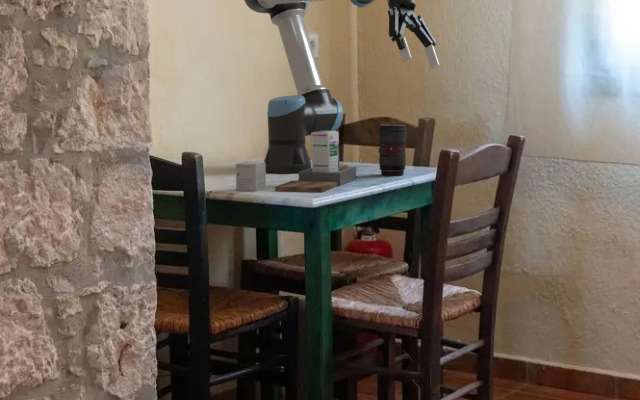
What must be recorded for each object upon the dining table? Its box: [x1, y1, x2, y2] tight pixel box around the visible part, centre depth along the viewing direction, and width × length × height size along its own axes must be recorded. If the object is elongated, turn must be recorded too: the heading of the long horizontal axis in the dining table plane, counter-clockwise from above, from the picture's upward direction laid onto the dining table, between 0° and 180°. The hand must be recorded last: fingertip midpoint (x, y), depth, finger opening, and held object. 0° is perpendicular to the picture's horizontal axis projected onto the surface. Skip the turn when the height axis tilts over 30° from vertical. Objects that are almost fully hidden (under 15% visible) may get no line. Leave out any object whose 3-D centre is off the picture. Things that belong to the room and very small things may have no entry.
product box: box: [235, 161, 267, 192], centre depth 251 cm, size 6×6×7 cm
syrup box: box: [311, 130, 340, 172], centre depth 264 cm, size 6×6×14 cm
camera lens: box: [378, 124, 407, 177], centre depth 280 cm, size 8×8×15 cm
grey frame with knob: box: [298, 164, 357, 187], centre depth 267 cm, size 12×16×4 cm
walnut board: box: [274, 180, 338, 193], centre depth 252 cm, size 13×13×1 cm
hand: (421, 63), depth 265 cm, fingers open, 13 cm apart
